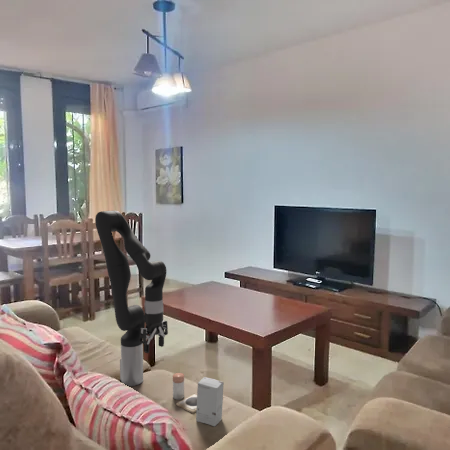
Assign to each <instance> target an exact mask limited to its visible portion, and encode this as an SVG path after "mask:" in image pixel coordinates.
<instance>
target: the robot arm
mask: <svg viewBox="0 0 450 450" xmlns="http://www.w3.org/2000/svg"><path fill="white" fill-rule="evenodd" d="M94 220H95V221H94V222H95V228H96V232H97V235H98V237H99V241H100V243H101V247H102V251H103V256H104V260H105V263H106V264H105V265H106V268H107V269H106V271H107V275H108V279H109V283H110V287H111V294H112V298H113V306H114V316H115V321H116V324H117V326H118V328H119V329H120V330H121V331H123V332H125V333H124V334H123V335H121V337H120V360H119V375H120V376H119V380H120V381H121V383H124V384H126V385H128V386H127V387H134V386H138V385H141V384H142V383H143V382H144V354H145V353H146V354H149V353H150V342H151V340H153V338H154V337H155V336H158V346H159V347H161V348H162V347H165V337H166V336H168V334H169V332H168V331H169V329H168V320H164V302H163V301H164V300H163V297H164V296H163V290H164V289H163V288H164V285H165V281H166V277H167V266H166V263H164V262H163V261H162V260H155V261H150V259H151V253H150V251H149V250H148V249H147V248H146V247H145V246H144V244H143V243H142V242H141V241H140V240H139V239H138V237H137V236H136V235H135V233H134V232H133V229H132V227H131V226H130V224H129V223H128V221H127V220H126V218H125V216H124V215H123V214H122V213H121V212H120V211H118V210H103V211H101V210H100V211H99V212H97V213H96V215H95V219H94ZM114 232H116V233H118V234H119V235H121V237H122V238H123V244H124V249H125V251H126V253H127V254H128V256H129V257H130V258H131V259H132V261H133V262H134V263H135V265H136V267H137V270H138V272H139V274H140V276H141V277H142V278H143V279H145V280H147V281H151V282H150V283H149V284H148V285H146V286H145V289H144V310H143V308H142V307H141V306H140V305H138V304H133V305H130V306H128V301H127V294H128V288H129V285H130V281H131V278H132V272H131V267H130V264H129V260H128V257H127V256H126V254H125V253H124V252H123V251H122V249H120V247H119V246H118V245H117V244H116V241H115V239H114V236H113V233H114ZM124 384H123V385H124ZM126 385H125V386H126Z"/></svg>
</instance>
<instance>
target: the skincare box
mask: <svg viewBox="0 0 450 450" xmlns="http://www.w3.org/2000/svg"><path fill="white" fill-rule="evenodd" d="M196 394H197V409H196V412H195V415H196V416H195V421H196V422H199V423H202V424H207V425H209V426H212V427H216V426H217V425H218V424H219V423H220V422H221V420H222V419H223V402H224V381H221V380H218V379H215V378H210V377H206V376H203V378H201V380H198V382H197V392H196Z"/></svg>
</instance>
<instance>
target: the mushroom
mask: <svg viewBox="0 0 450 450" xmlns="http://www.w3.org/2000/svg"><path fill="white" fill-rule="evenodd" d="M172 399H173V400H178V401H179V400H180V401H181V400H183V399H185V374H184V373H181V372H176V373H174V374H172Z"/></svg>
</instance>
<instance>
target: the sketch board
mask: <svg viewBox="0 0 450 450" xmlns="http://www.w3.org/2000/svg"><path fill="white" fill-rule="evenodd" d="M176 406H177V407H179V408H181V409H183V410H185V411H187V412H189V413H191V414H196V409H197V393H193V394H191V395H188V396H187V397H184V398H183V399H181V400H180V401H178V402H176Z"/></svg>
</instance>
